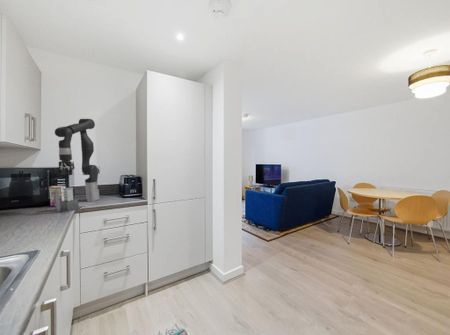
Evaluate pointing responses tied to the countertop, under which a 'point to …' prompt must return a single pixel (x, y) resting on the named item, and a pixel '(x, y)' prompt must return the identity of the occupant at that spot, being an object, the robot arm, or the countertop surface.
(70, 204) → the stand base
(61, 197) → the candy bar box
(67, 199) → the column
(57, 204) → the arrow post
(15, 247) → the countertop surface
